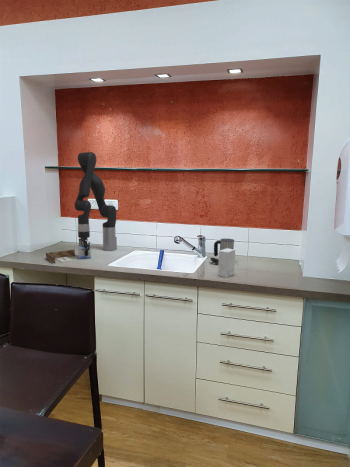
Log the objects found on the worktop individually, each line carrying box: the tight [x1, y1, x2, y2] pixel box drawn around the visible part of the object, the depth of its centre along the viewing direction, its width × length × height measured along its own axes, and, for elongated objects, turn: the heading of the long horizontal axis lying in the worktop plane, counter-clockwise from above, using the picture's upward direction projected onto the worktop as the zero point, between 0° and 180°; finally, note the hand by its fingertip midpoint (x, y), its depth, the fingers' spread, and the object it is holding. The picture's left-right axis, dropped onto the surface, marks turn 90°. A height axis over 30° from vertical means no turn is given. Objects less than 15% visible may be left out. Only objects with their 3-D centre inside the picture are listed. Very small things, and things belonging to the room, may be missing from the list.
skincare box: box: [217, 248, 236, 278], centre depth 197 cm, size 8×6×15 cm
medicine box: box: [77, 244, 92, 260], centre depth 233 cm, size 8×4×9 cm, turn 107°
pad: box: [55, 256, 73, 263], centre depth 228 cm, size 7×11×1 cm, turn 36°
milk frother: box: [209, 238, 235, 265], centre depth 224 cm, size 14×16×15 cm
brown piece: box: [45, 249, 76, 264], centre depth 229 cm, size 19×15×4 cm
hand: (84, 254), depth 233 cm, fingers closed on medicine box, 5 cm apart
